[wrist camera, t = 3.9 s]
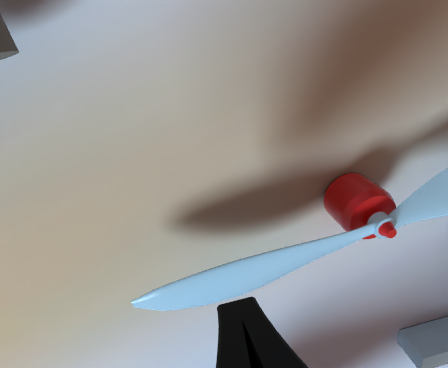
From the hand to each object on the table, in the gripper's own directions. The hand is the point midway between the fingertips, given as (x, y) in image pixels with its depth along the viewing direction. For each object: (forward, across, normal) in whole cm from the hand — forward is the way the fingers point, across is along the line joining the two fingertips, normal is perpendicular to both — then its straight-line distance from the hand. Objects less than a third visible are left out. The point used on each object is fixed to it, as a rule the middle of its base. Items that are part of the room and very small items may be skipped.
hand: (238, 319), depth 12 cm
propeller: (+7, -8, 0) cm, 11 cm away
